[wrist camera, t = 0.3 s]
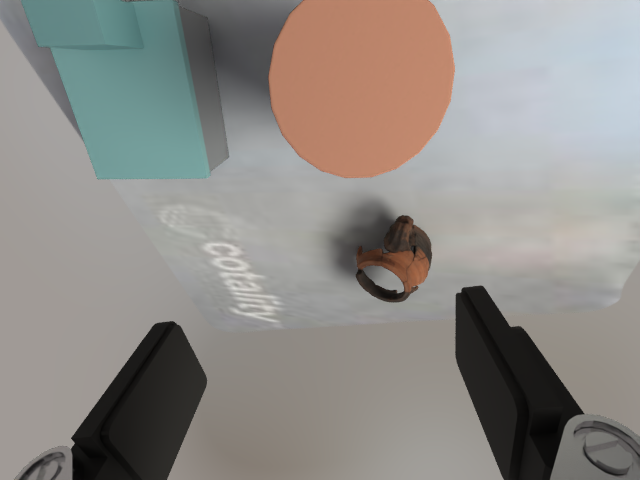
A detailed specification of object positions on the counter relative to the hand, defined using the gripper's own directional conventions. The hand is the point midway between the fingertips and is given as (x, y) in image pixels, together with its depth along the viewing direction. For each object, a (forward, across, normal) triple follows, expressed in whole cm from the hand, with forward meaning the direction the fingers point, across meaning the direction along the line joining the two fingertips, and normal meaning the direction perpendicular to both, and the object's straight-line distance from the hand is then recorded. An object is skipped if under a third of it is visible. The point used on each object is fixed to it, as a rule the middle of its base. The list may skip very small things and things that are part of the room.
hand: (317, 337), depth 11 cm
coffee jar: (+31, -3, -7) cm, 31 cm away
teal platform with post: (+25, +17, -9) cm, 31 cm away
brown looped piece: (+31, -6, +14) cm, 34 cm away
